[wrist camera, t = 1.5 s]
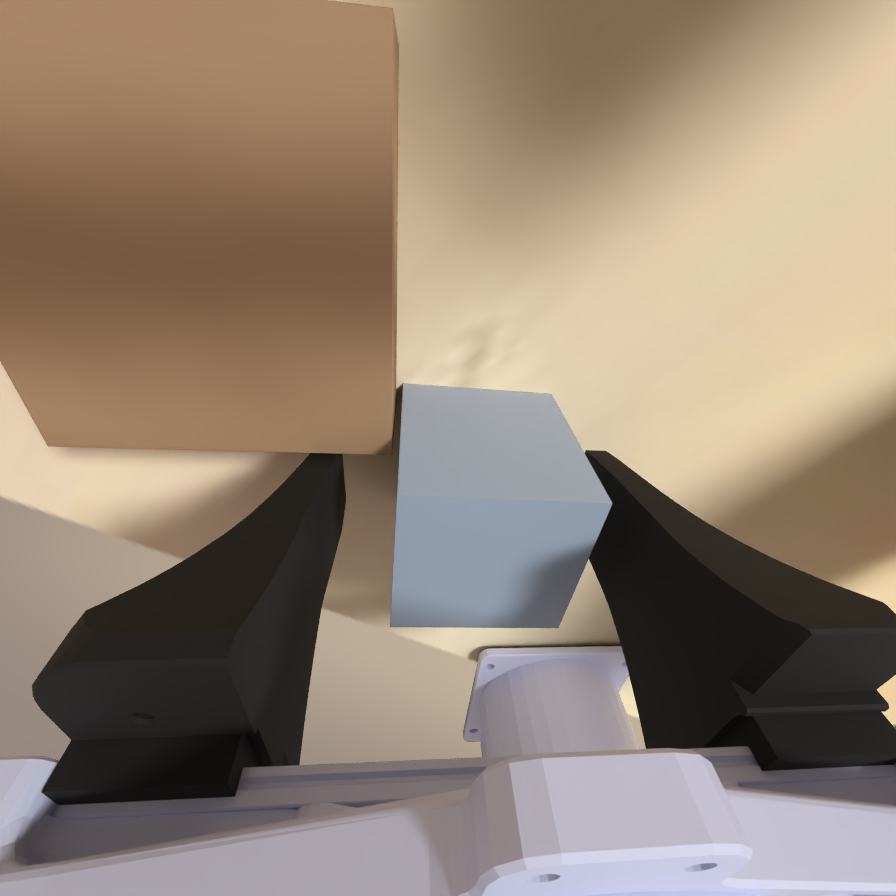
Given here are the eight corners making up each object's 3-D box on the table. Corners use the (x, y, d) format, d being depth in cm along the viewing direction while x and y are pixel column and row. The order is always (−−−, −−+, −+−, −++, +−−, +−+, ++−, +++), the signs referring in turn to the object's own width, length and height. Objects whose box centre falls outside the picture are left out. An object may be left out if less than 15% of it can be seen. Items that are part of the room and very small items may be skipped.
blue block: (521, 502, 16) (558, 627, 11) (397, 497, 15) (390, 626, 11) (550, 392, 13) (612, 503, 9) (403, 382, 13) (397, 494, 8)
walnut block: (396, 398, 13) (392, 455, 11) (120, 387, 12) (47, 446, 10) (399, 48, 9) (392, 8, 6) (-36, -1, 8) (-241, -70, 5)
